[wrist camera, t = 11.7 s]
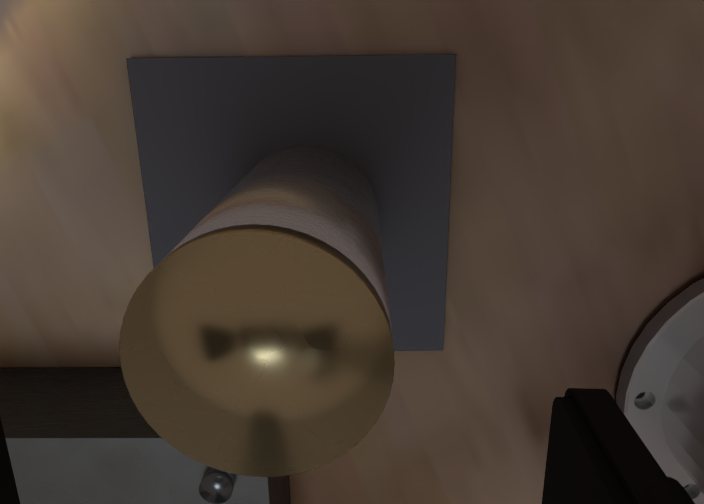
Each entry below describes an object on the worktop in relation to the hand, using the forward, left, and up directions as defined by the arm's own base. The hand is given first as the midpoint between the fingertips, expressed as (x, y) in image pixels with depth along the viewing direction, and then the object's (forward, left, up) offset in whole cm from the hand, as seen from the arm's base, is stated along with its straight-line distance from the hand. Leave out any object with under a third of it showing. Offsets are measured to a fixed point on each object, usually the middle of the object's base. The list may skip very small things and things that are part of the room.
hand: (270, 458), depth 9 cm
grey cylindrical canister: (+1, 0, -14) cm, 14 cm away
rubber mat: (+1, 0, -14) cm, 14 cm away
